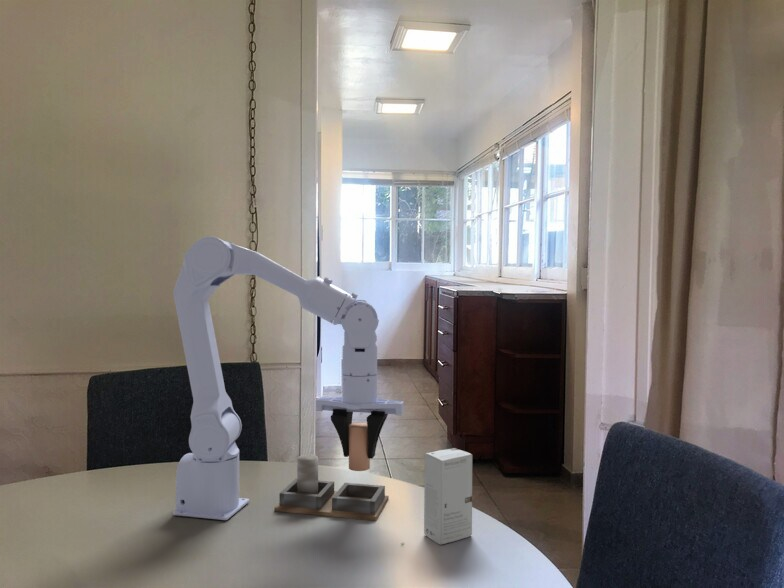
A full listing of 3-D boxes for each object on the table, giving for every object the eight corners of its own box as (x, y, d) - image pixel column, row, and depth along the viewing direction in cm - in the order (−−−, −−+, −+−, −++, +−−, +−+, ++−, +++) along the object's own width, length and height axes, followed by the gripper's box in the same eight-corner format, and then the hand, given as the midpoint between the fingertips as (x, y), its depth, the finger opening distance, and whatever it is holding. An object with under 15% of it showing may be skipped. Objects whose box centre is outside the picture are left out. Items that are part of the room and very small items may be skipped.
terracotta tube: (345, 470, 91) (346, 427, 91) (352, 463, 94) (352, 422, 94) (366, 471, 90) (366, 428, 90) (372, 465, 94) (372, 423, 93)
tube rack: (274, 511, 91) (274, 464, 91) (295, 491, 100) (295, 448, 99) (376, 520, 87) (376, 472, 87) (388, 499, 96) (388, 455, 96)
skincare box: (441, 546, 79) (441, 460, 79) (422, 534, 83) (422, 452, 82) (474, 535, 82) (474, 453, 82) (454, 524, 86) (455, 446, 86)
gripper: (309, 375, 90) (309, 460, 90) (398, 379, 87) (397, 466, 87) (323, 369, 97) (323, 447, 97) (406, 372, 94) (405, 453, 94)
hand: (359, 455), depth 92 cm, fingers closed on terracotta tube, 3 cm apart
